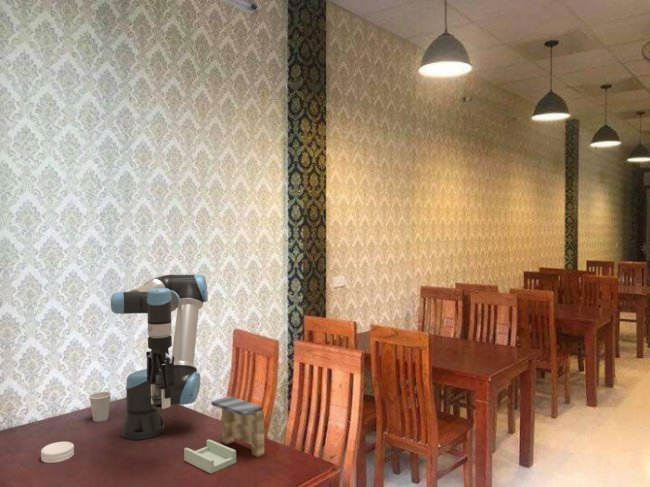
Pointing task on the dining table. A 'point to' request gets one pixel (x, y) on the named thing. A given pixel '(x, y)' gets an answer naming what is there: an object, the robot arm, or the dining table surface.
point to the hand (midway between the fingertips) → (160, 405)
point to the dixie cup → (100, 405)
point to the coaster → (57, 452)
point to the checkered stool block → (242, 422)
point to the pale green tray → (211, 457)
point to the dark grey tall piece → (158, 392)
